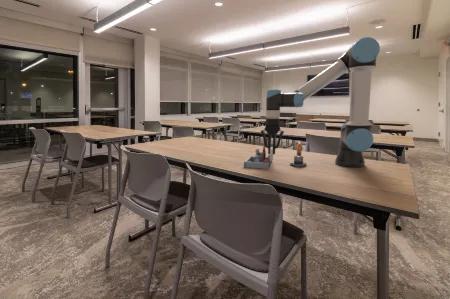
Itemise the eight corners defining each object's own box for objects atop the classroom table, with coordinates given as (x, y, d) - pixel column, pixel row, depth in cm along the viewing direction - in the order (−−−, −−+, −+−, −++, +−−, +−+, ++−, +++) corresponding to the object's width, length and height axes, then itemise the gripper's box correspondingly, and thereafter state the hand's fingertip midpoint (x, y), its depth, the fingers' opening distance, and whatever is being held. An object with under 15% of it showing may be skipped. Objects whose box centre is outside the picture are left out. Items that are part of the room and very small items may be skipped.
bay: (272, 162, 151) (272, 157, 150) (268, 168, 136) (268, 163, 135) (250, 160, 155) (250, 156, 154) (244, 167, 140) (244, 161, 139)
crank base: (306, 163, 147) (306, 161, 147) (306, 167, 138) (306, 165, 138) (290, 162, 150) (290, 160, 149) (289, 166, 141) (289, 164, 141)
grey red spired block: (274, 163, 138) (261, 145, 138) (258, 173, 142) (245, 156, 142) (276, 159, 149) (264, 142, 149) (261, 169, 152) (249, 152, 153)
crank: (302, 164, 141) (303, 145, 139) (293, 163, 142) (294, 145, 140) (303, 159, 153) (304, 142, 151) (294, 159, 154) (295, 142, 152)
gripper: (285, 117, 141) (283, 159, 145) (262, 117, 144) (261, 157, 149) (284, 118, 134) (282, 162, 138) (259, 118, 137) (258, 160, 142)
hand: (271, 159), depth 143 cm, fingers closed
